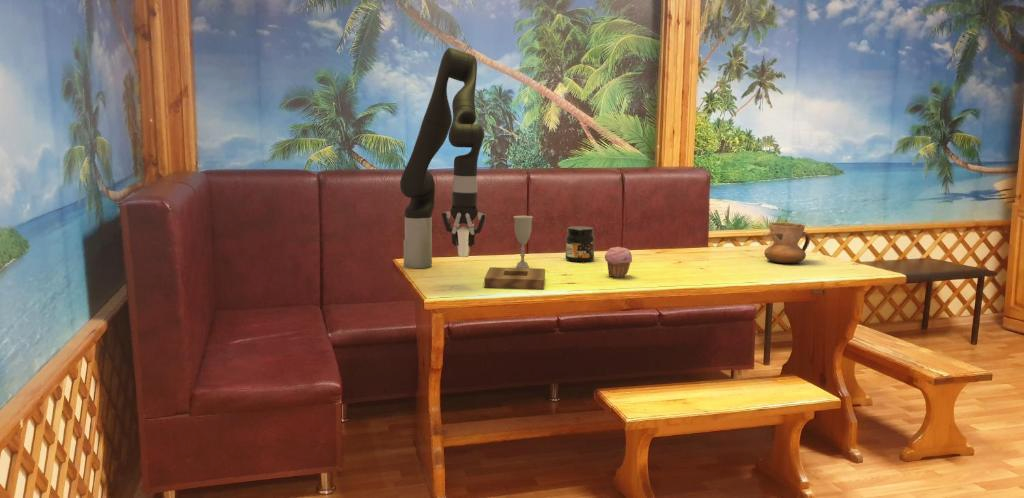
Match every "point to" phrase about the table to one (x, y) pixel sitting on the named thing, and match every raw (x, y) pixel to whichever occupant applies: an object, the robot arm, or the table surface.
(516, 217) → the chalice
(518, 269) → the well block
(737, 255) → the table surface
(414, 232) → the robot arm
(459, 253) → the milkshake
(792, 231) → the ceramic jug
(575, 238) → the supplement container
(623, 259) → the cupcake
